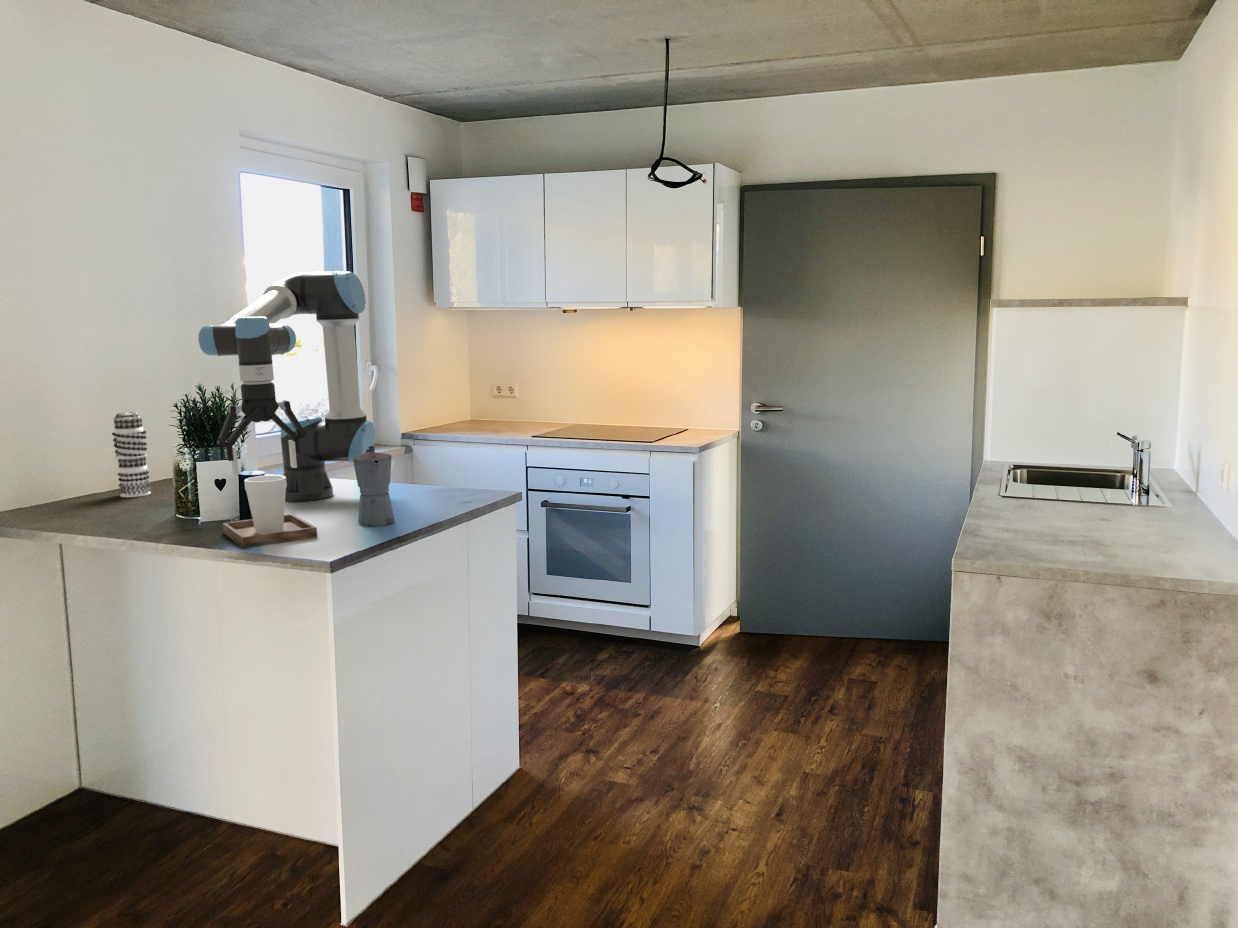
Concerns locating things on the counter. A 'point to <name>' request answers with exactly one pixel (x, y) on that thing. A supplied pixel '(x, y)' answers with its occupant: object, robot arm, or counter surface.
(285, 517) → the walnut tray
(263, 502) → the foam cup
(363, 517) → the moka pot
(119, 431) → the decorative candle
